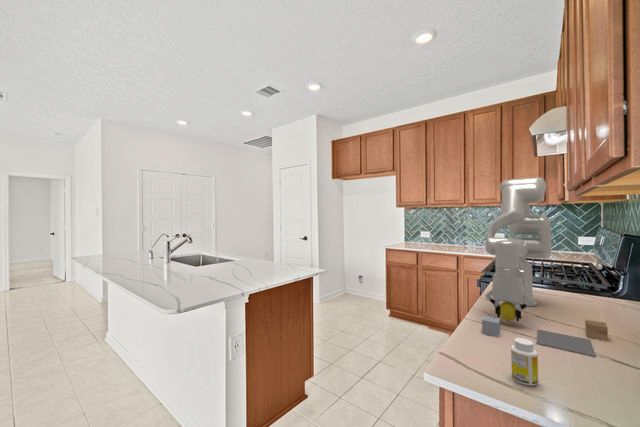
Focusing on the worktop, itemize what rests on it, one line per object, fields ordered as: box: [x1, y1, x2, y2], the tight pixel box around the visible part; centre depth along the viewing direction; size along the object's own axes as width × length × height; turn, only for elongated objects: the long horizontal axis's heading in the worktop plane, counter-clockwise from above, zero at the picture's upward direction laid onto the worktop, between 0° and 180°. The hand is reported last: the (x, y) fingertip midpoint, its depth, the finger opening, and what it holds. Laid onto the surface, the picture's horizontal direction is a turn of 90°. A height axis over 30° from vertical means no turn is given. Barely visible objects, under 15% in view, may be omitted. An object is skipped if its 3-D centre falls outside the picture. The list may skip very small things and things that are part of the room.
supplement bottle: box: [510, 337, 539, 387], centre depth 72 cm, size 6×6×10 cm
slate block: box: [481, 315, 501, 338], centre depth 100 cm, size 5×5×5 cm
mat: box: [536, 329, 597, 358], centre depth 92 cm, size 14×14×1 cm
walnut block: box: [584, 318, 609, 342], centre depth 96 cm, size 5×5×5 cm
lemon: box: [499, 301, 517, 323], centre depth 108 cm, size 6×6×8 cm
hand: (508, 317), depth 108 cm, fingers closed on lemon, 5 cm apart
